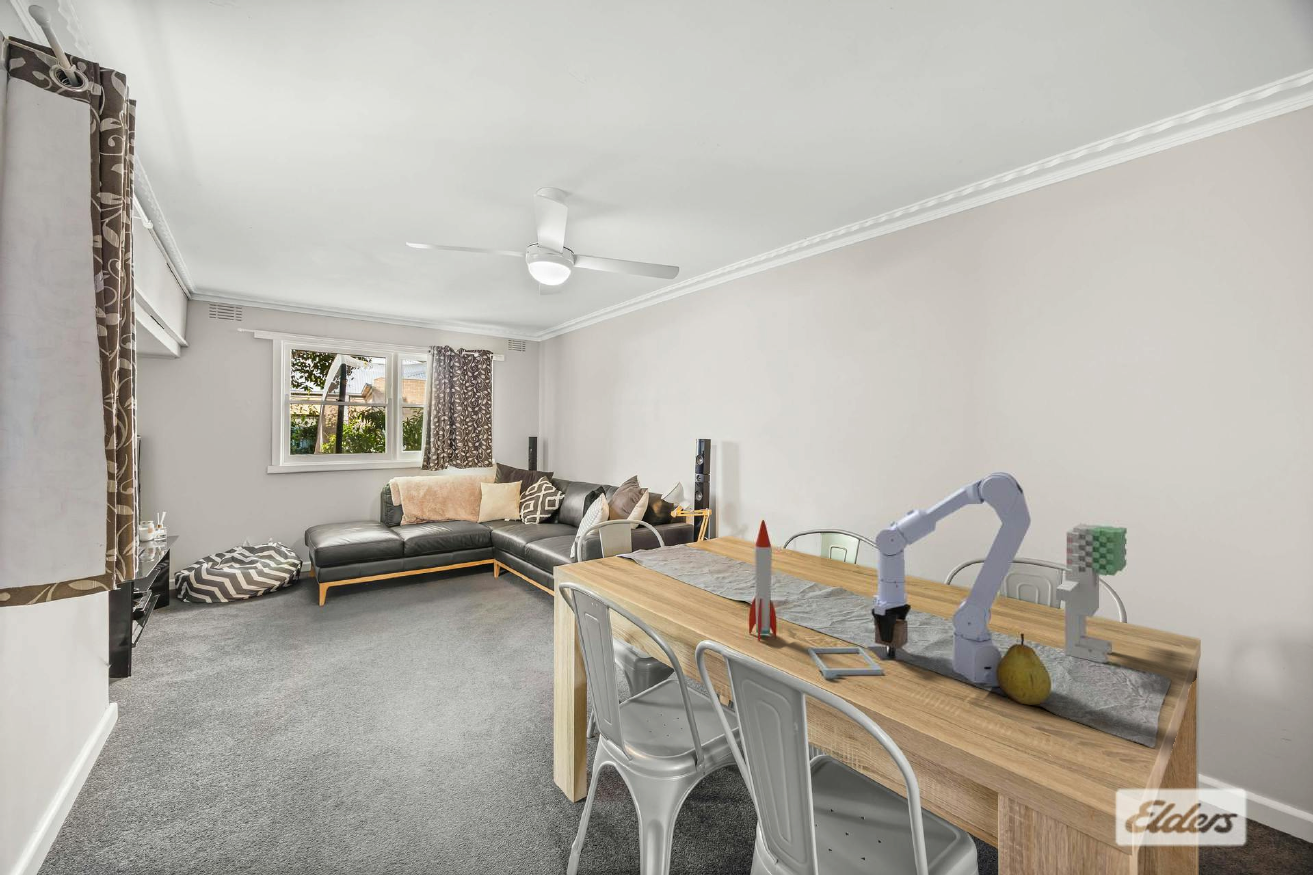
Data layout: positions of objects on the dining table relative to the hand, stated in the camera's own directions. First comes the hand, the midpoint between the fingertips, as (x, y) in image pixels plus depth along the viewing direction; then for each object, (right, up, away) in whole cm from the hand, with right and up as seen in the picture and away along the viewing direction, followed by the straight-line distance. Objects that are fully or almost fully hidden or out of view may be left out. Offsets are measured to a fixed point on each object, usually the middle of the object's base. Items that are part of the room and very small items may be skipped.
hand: (891, 638), depth 127 cm
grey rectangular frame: (-13, -5, -5) cm, 15 cm away
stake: (0, -4, 0) cm, 4 cm away
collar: (0, -1, 0) cm, 1 cm away
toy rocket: (-27, -5, +13) cm, 31 cm away
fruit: (+17, -5, -20) cm, 27 cm away
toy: (+49, -5, +2) cm, 49 cm away
